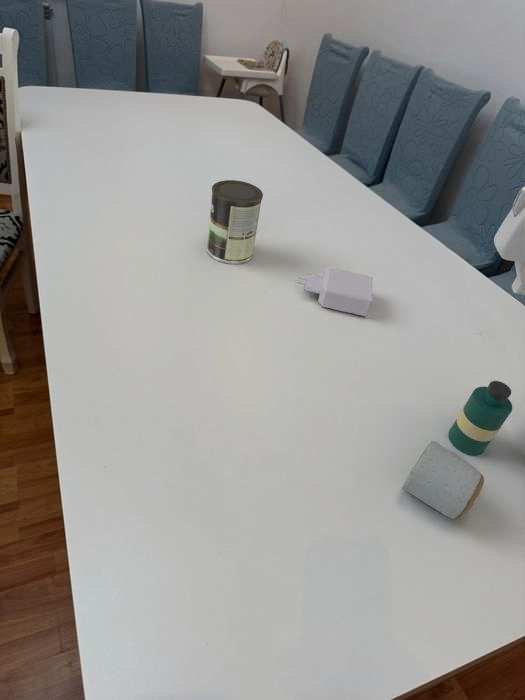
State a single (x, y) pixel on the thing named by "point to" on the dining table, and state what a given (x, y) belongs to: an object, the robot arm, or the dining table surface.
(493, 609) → the dining table surface
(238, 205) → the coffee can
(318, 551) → the dining table surface
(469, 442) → the bottle
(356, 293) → the charger
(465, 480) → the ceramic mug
